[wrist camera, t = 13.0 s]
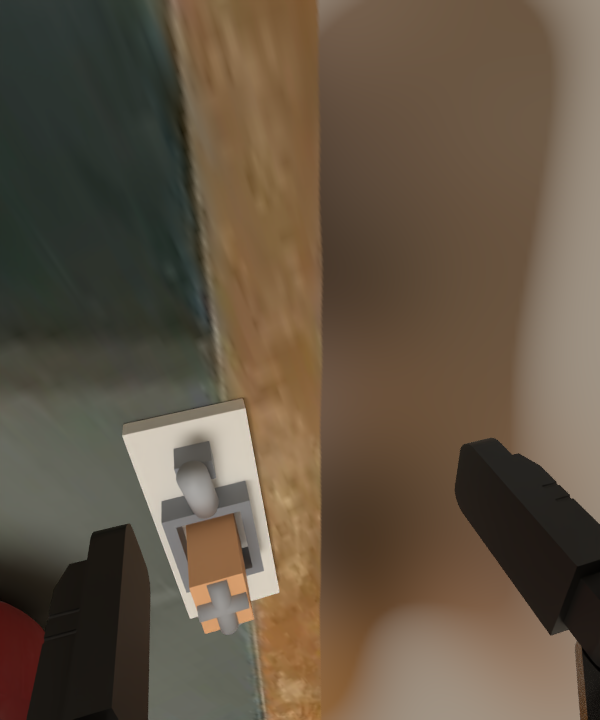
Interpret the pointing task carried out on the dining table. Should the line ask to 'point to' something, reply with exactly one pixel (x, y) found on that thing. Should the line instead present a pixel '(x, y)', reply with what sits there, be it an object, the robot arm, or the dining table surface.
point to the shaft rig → (203, 486)
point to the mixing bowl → (17, 661)
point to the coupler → (218, 574)
